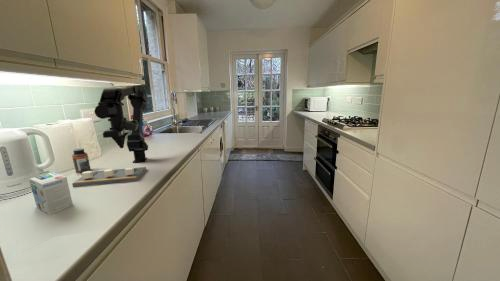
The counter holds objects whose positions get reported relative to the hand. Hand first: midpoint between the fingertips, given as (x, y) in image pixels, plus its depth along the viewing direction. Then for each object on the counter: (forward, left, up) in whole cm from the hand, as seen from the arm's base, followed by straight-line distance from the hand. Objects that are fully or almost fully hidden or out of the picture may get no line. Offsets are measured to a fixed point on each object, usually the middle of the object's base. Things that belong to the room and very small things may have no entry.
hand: (122, 148), depth 99 cm
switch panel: (+7, -3, -12) cm, 14 cm away
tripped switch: (+10, +6, -10) cm, 15 cm away
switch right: (+10, -11, -10) cm, 18 cm away
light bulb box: (+30, -12, -12) cm, 35 cm away
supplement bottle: (-6, -22, -12) cm, 26 cm away
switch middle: (+10, -3, -10) cm, 14 cm away
